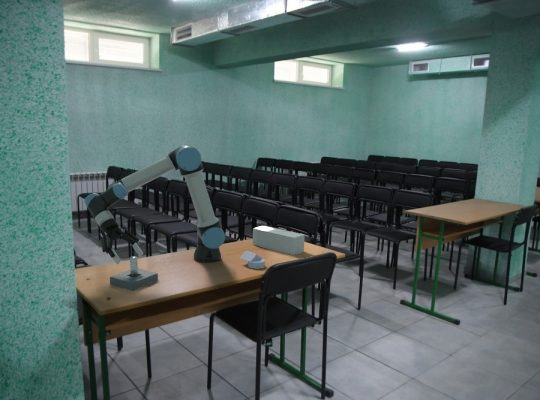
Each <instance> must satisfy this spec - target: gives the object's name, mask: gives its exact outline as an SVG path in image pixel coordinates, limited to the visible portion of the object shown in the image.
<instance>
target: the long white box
mask: <svg viewBox="0 0 540 400" xmlns="http://www.w3.org/2000/svg"><path fill="white" fill-rule="evenodd" d="M305 236H306V235H305V234H303V233H299V232H294V231H290V230H284V229H281V228H276V227H272V226H271V227H270V226H267V225H261V226H257V227H254V228H252V244H251V245H253V246H256V247H260V248H264V249H269V250H272V251H275V252H281V253H283V254H284V253H285V254H287V255H291V256H296V255H299V254H301V253H304V252H305V239H306V238H305ZM295 254H296V255H295Z"/></svg>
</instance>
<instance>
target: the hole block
mask: <svg viewBox="0 0 540 400" xmlns="http://www.w3.org/2000/svg"><path fill="white" fill-rule="evenodd" d="M137 268H138V276H137V277H130V269H128V270H126V271H123V272H120V273H117V274H114V275H111V276H109V285H112V286H115V287H119V288H123V289H125V290H129V291H135V290H137V289H140V288H142V287H145V286H147V285H149V284H153V283H155V282H158V280H159V273H158V272H156V271H155V272H154V271H152V270H147V269H143V268H139V267H137Z"/></svg>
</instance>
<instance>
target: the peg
mask: <svg viewBox="0 0 540 400" xmlns="http://www.w3.org/2000/svg"><path fill="white" fill-rule="evenodd" d="M129 262H130V263H129V266H130V267H129V270H130V277H137V276H138V268H139V267H138V256H133V255H132V256H130V257H129Z"/></svg>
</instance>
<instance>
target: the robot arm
mask: <svg viewBox="0 0 540 400" xmlns="http://www.w3.org/2000/svg"><path fill="white" fill-rule="evenodd" d="M177 170H179V173H180V176H181V177H183V178H184V179H185V181H186V185H187V189H188V192H189V195H190V198H191V200H192V203H193V207H194V210H195V213H196V216H197V222H196V226H197V228H196V235H197V237H196V247H195V250H194V253H193V260H194V261H196V262H200V263H214V262H219V261H220V260H222V253H221V251H220V247H221V246H222V245H223V244H224V242H225V240H226V233H225V232H224V230H223V228H222V225H221V222H220V218H218V217H216V216H215V215H216V214H215V212H214V209H213V206H212V202H211V199H210V195H209V193H208V190H207V187H206V183H205V180H204V176H203V171H204V166H203V162H202V155H201V153H200V151H199V150H198V148H196V147H195V146H192V145H188V144H183V145H180V146H178V147H177V148H175V149H174V150H172V151H169V152H168V153H166V155H165V157H163V158H161V159H159V160H156V161H155V162H152V164H149V165H147V166H145V167H142V168H141V169H139V170H136V171H134V172H133V173H131V174H129V175H127V176H125V177H123V178H121V179H119V180H117V181H113V182H112V183H110V184H109V185H108V186H107V189H106V190H105V191H103V192H102V193H100V194H99V193H98V192H94V193H90V194H88V195H87V196H86V197H85V198H84V204H85V206H86V208H87V210H88V211H89V213H90V214H91V216H92V217H93V219H94V220H95V221H96V223H97V225H98V226H99V228H100V230H101V232H100V233H99V238H100V241H101V249H102V253H105V254H107V255H109V256H110V257H111V258H112V260H114V262H115V264H116V265H118V264H119V263H120V262H121V261H122V260H121V258H120V256H119V255H118V254H117V252H116V251H115V249H114V248H113V247H112V246H113V242H114V241H115V240H119V239H120V240H123V241H125V242H127V243H130V245H132V248H133V250H134V251H135V252H136V255H138V256H137V257H139V258H141V257H142V256H143V255H144V252H143V250H142V249H141V246H140V244H139V243H138V242H139V241H140V238H139V237H137V236H136V235H135V234H133V233H132V232H131V231H129V230H128V229H127V227H126V226H122V228H120V227H119V224H118V222H117V220H116V218H114V216H113V214H112V212H111V211H110V210H109V208H111V207H112V206H113V205H115V204H116V203H118V202H120V201H121V200H124V199H125V198H126V197H127V196H128V195H129V193H130V192H132V191H134V190H136V189H138V188H139V187H142V186H144V185H146V184H147V183H150V182H152V181H153V180H156V179H158V178H160V177H162V176H163V175H166V174H167V173H169V172H172V171H177ZM107 238H108V239H107Z"/></svg>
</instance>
